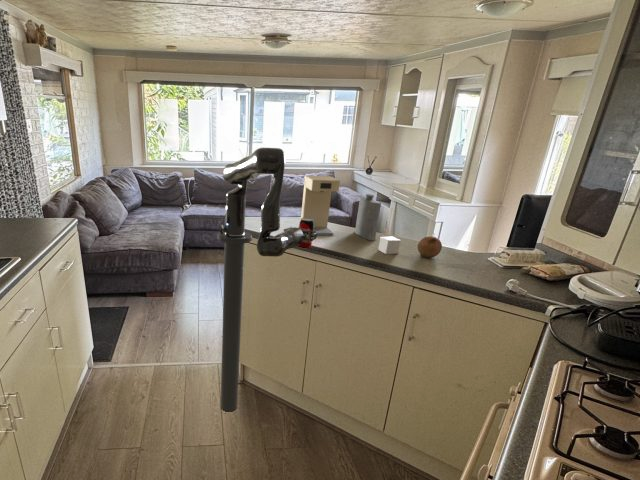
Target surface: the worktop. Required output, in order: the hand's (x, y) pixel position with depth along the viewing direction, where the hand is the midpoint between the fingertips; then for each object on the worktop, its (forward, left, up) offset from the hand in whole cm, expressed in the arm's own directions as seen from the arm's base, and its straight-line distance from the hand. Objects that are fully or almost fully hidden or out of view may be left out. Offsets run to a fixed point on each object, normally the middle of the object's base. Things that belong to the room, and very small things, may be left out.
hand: (307, 230), depth 188 cm
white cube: (+33, -12, -7) cm, 36 cm away
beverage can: (-2, -2, -7) cm, 7 cm away
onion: (+47, -20, -7) cm, 52 cm away
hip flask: (+34, +13, -7) cm, 38 cm away
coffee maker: (+13, +23, -7) cm, 28 cm away
